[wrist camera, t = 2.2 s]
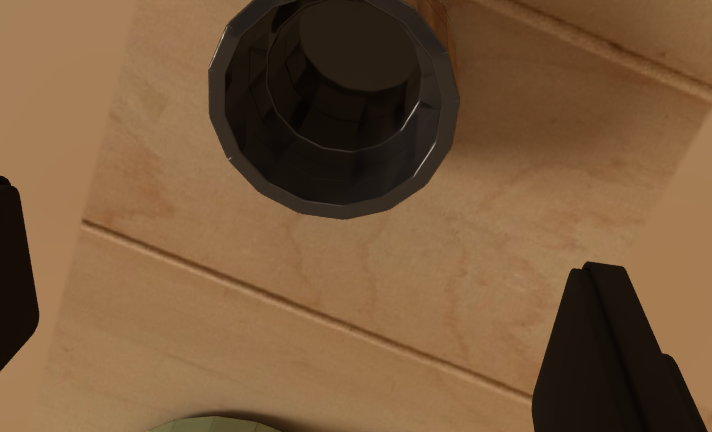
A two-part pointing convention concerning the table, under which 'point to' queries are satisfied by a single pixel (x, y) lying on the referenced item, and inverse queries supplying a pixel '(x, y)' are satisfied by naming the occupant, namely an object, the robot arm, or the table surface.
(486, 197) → the table surface
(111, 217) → the table surface
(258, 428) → the big bowl
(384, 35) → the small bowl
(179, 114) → the table surface
